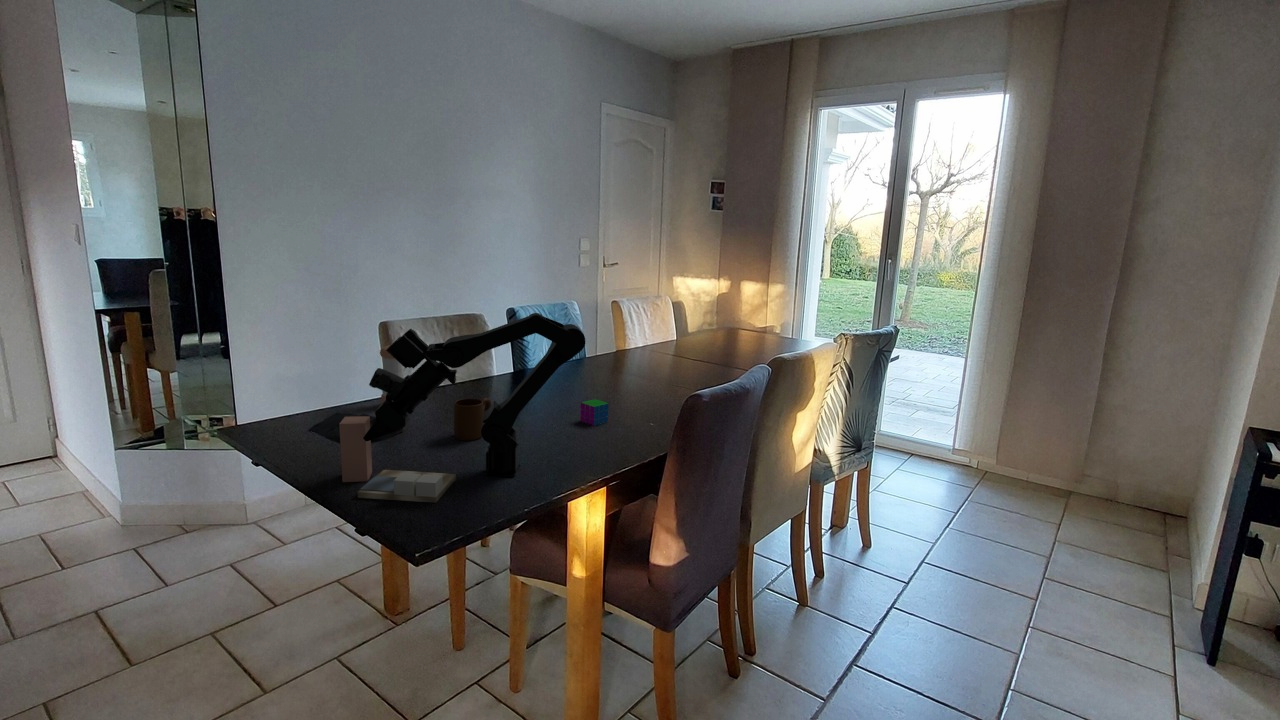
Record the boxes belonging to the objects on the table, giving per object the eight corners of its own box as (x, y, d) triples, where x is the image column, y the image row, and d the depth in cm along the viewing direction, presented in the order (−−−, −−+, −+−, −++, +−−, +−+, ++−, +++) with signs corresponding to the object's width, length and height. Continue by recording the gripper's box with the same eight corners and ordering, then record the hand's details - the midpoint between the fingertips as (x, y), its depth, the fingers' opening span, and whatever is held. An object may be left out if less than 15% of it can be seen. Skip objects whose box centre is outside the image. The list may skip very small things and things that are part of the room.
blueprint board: (455, 479, 137) (455, 473, 137) (435, 502, 126) (435, 496, 125) (384, 474, 138) (384, 468, 138) (357, 497, 126) (357, 491, 126)
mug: (479, 425, 174) (479, 393, 172) (501, 431, 170) (501, 397, 168) (447, 437, 163) (447, 402, 161) (469, 443, 160) (469, 407, 158)
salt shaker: (376, 406, 186) (373, 343, 182) (393, 401, 193) (391, 340, 189) (395, 410, 184) (393, 346, 180) (412, 404, 191) (410, 342, 187)
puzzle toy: (608, 422, 183) (608, 403, 181) (593, 426, 178) (594, 406, 177) (594, 417, 186) (594, 399, 185) (580, 421, 182) (580, 402, 181)
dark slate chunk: (355, 418, 176) (354, 402, 175) (408, 434, 166) (408, 416, 165) (303, 432, 163) (302, 414, 162) (357, 450, 153) (356, 431, 152)
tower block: (372, 472, 139) (369, 416, 136) (367, 481, 134) (364, 423, 132) (348, 473, 138) (344, 416, 135) (342, 482, 133) (339, 423, 130)
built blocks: (442, 489, 129) (442, 475, 129) (435, 497, 125) (435, 483, 125) (402, 486, 130) (402, 472, 129) (394, 494, 126) (393, 480, 125)
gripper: (400, 348, 141) (349, 395, 141) (385, 366, 123) (327, 421, 123) (437, 382, 145) (387, 428, 144) (428, 404, 127) (371, 457, 127)
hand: (369, 432), depth 135 cm, fingers open, 9 cm apart
